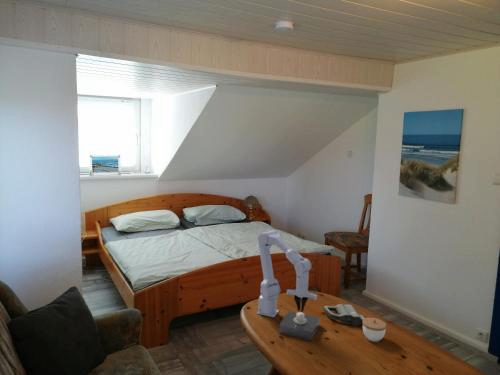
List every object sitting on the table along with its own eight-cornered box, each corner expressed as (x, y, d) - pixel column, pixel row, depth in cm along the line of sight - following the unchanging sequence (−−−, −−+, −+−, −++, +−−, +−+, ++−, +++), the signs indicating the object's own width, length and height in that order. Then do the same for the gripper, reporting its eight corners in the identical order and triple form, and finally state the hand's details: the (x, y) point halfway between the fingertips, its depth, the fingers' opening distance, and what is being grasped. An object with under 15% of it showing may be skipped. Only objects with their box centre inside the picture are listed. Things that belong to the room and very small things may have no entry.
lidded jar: (357, 333, 183) (358, 315, 182) (376, 331, 186) (378, 313, 184) (369, 345, 173) (370, 326, 171) (389, 343, 175) (391, 324, 174)
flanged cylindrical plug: (291, 326, 184) (291, 315, 183) (295, 320, 190) (296, 310, 189) (304, 329, 181) (305, 318, 180) (308, 323, 187) (308, 312, 186)
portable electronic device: (347, 309, 209) (348, 300, 208) (369, 327, 190) (370, 317, 189) (321, 312, 204) (321, 303, 203) (341, 331, 185) (342, 321, 184)
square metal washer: (279, 332, 181) (279, 324, 181) (288, 318, 196) (289, 310, 195) (311, 340, 175) (312, 332, 175) (319, 325, 190) (319, 317, 189)
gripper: (285, 284, 181) (283, 310, 183) (315, 289, 176) (313, 317, 178) (289, 279, 188) (288, 305, 190) (318, 284, 182) (316, 311, 184)
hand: (300, 310), depth 184 cm, fingers closed
